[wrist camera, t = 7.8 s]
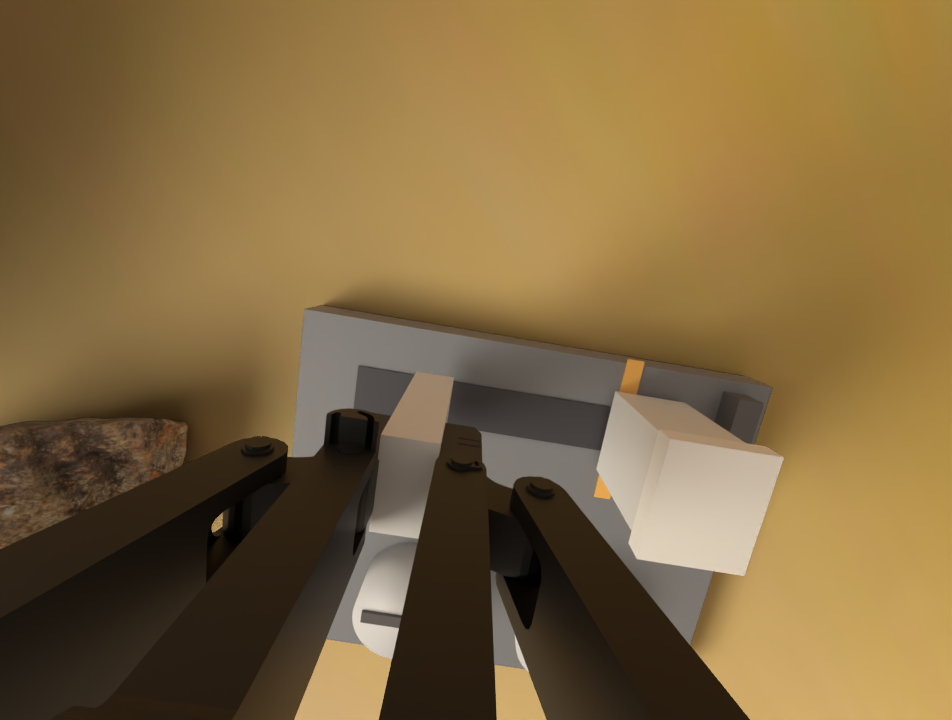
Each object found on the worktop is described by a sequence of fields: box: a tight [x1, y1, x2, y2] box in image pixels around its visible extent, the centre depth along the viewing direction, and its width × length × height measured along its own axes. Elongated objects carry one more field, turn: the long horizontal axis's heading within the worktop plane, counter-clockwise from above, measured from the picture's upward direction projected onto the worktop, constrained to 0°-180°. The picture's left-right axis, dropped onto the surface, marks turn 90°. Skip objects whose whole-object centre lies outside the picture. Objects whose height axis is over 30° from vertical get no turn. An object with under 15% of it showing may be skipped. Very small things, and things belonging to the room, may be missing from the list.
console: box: [292, 305, 772, 672], centre depth 20 cm, size 20×16×4 cm
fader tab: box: [596, 391, 784, 576], centre depth 16 cm, size 3×4×6 cm
